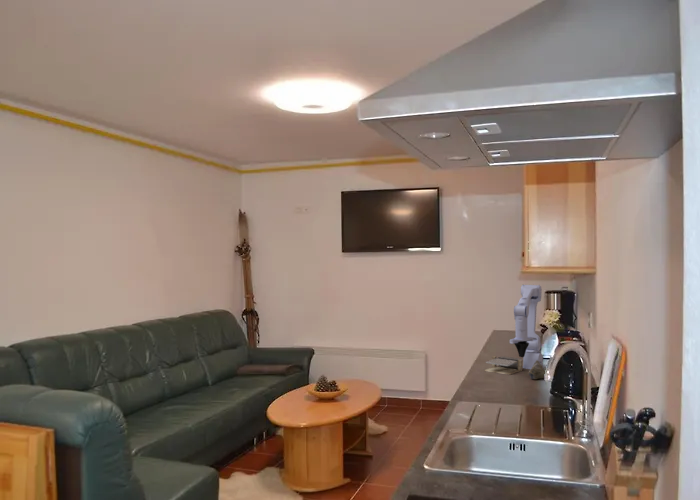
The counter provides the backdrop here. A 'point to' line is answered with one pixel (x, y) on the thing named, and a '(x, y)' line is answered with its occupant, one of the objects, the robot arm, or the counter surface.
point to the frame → (505, 370)
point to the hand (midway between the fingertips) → (521, 356)
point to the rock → (537, 371)
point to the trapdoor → (505, 361)
